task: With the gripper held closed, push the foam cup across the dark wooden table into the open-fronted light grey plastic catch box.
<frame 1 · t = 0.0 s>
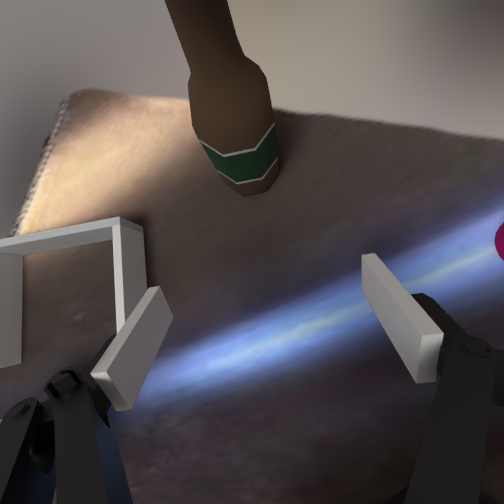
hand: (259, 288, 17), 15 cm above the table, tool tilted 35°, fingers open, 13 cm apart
catch box: (79, 294, 35), on the table
beer bottle: (251, 171, 35), on the table
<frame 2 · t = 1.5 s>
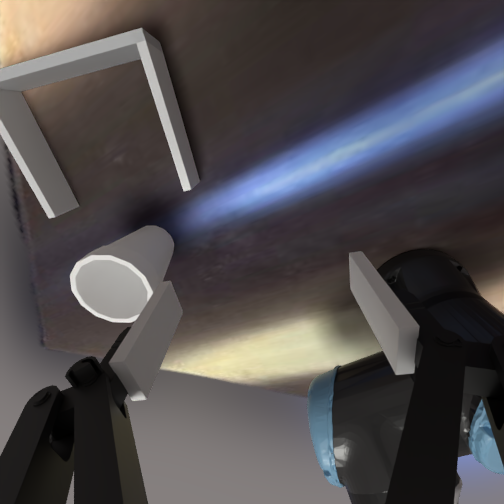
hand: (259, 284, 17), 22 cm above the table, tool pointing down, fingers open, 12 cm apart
catch box: (110, 136, 34), on the table
foam cup: (155, 243, 41), on the table
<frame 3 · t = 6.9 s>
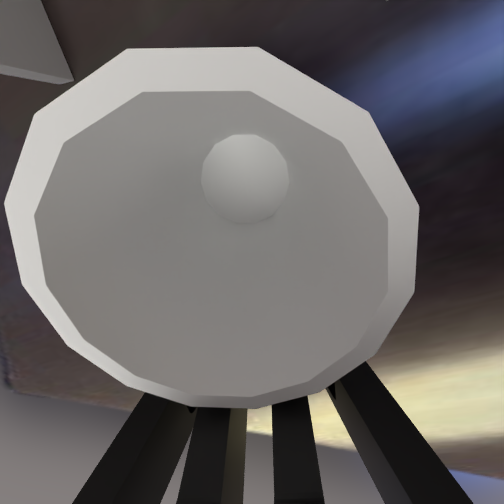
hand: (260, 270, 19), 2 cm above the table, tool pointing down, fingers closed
foam cup: (245, 179, 18), on the table, touching gripper
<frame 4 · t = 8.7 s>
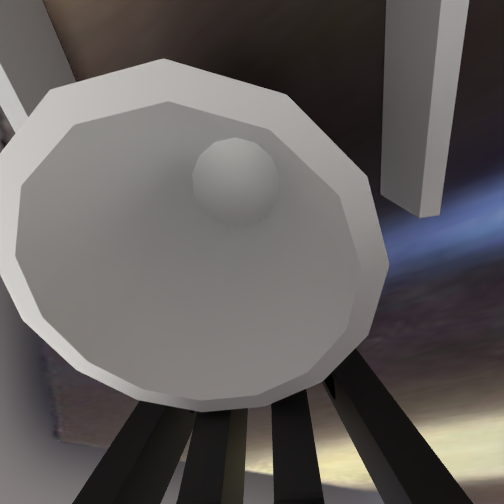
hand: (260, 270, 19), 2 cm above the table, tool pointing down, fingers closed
catch box: (228, 91, 16), on the table
foam cup: (236, 182, 18), on the table, touching gripper
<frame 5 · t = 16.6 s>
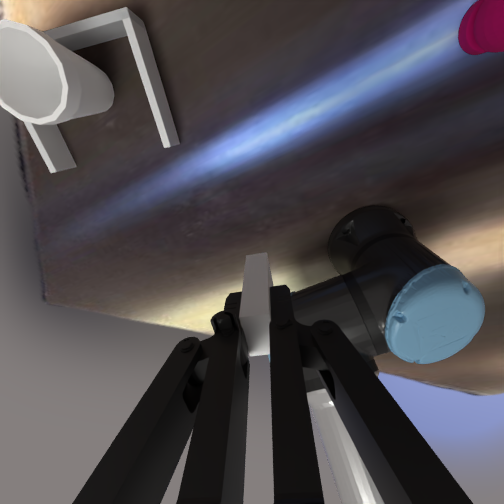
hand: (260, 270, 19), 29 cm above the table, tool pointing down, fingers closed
pepper mill: (481, 26, 35), on the table
catch box: (103, 103, 40), on the table
foam cup: (94, 89, 40), resting in catch box
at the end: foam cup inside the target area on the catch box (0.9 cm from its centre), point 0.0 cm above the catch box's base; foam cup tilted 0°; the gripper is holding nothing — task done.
